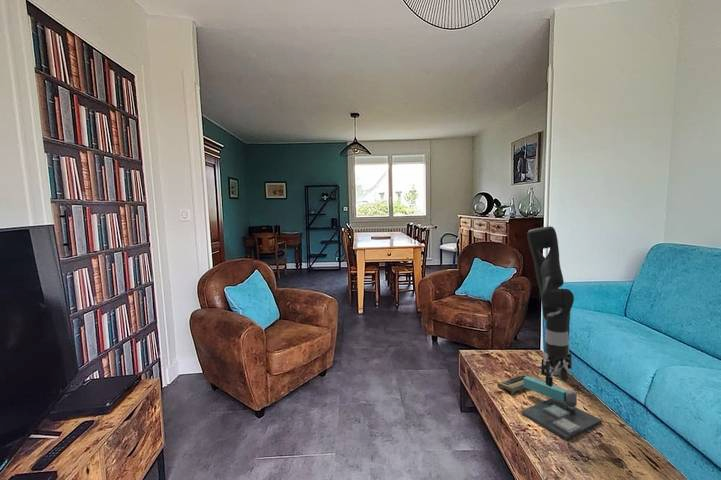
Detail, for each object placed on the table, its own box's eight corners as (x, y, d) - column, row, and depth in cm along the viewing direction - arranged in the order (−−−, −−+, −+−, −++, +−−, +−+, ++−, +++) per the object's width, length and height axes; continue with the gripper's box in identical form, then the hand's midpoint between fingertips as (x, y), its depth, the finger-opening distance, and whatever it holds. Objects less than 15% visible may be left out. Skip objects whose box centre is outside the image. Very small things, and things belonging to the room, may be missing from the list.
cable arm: (578, 403, 130) (578, 392, 130) (574, 407, 128) (574, 396, 128) (527, 384, 146) (527, 374, 146) (523, 387, 144) (523, 377, 144)
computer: (520, 378, 158) (520, 371, 158) (536, 386, 151) (536, 379, 151) (496, 387, 151) (496, 380, 151) (512, 395, 144) (512, 388, 144)
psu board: (554, 399, 139) (554, 393, 139) (601, 423, 123) (601, 416, 123) (521, 413, 130) (521, 407, 130) (567, 440, 114) (567, 433, 114)
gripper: (559, 334, 132) (559, 374, 133) (534, 341, 126) (534, 383, 127) (578, 340, 126) (578, 382, 127) (553, 348, 119) (553, 392, 121)
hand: (556, 382), depth 127 cm, fingers open, 8 cm apart
